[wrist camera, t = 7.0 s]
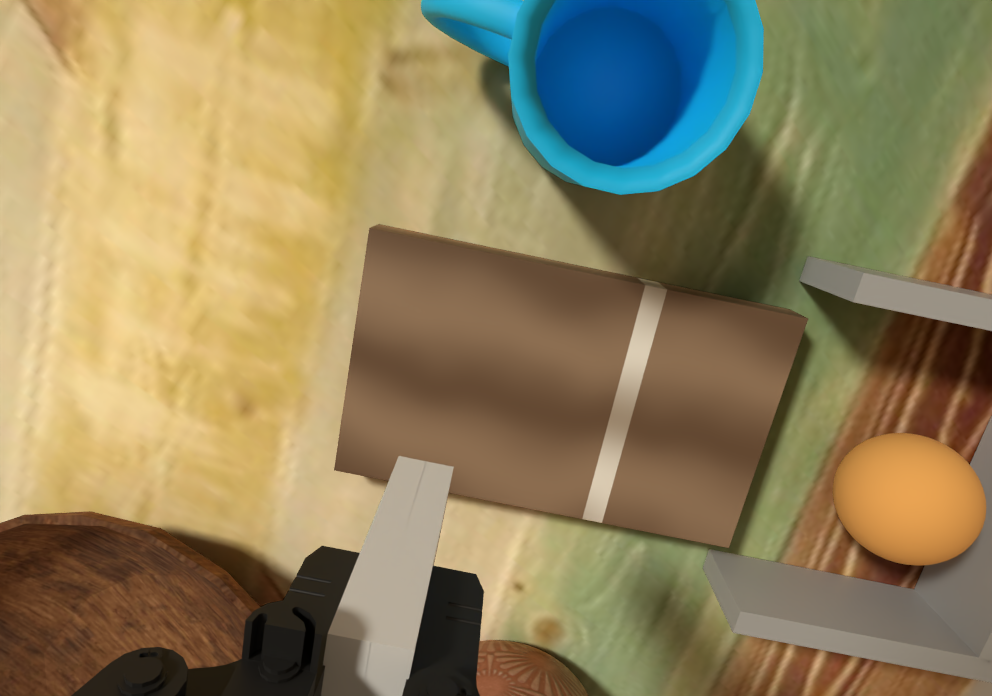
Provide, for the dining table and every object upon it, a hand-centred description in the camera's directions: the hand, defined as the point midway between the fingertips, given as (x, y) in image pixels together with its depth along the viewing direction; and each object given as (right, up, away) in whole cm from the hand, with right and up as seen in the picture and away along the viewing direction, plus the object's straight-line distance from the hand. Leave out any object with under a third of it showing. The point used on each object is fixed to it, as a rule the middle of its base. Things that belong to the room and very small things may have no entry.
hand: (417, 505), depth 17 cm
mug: (+5, +16, +11) cm, 20 cm away
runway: (+5, +2, +15) cm, 16 cm away
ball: (+21, -3, +12) cm, 25 cm away
